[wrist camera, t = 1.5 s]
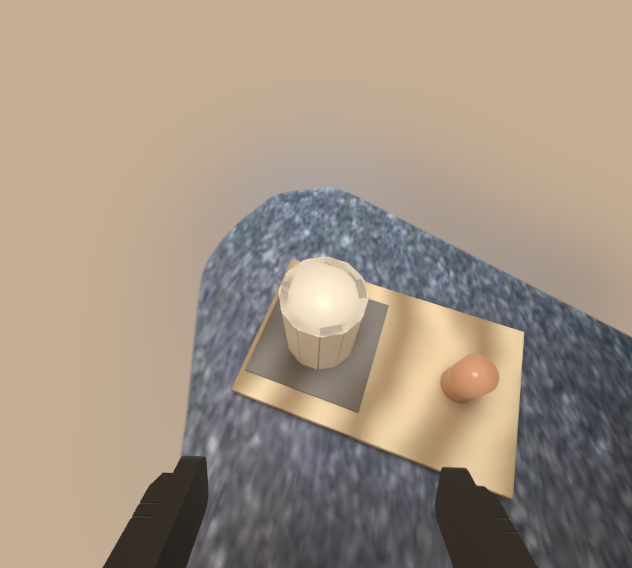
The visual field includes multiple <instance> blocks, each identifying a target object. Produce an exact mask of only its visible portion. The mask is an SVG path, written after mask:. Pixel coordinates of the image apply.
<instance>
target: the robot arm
mask: <svg viewBox="0 0 632 568" xmlns="http://www.w3.org/2000/svg"><path fill="white" fill-rule="evenodd" d="M207 502H208V477H207V461H206V457H202V456H182V457H181V458H180V460H179V462H178V464H177V466H176V468H175V470H174V472H173V473H162V474H161V475H160V476H159V477H158V478H157V479H156V480H155V481H154V482H153V483H152V484H151V485H150V486H149V487H148V489H147V491H146V492H145V494H144V496H143V498H142V499H141V501H140V505H138V506H137V508H136V510H135V512H134V514H133V517H132V518H131V519H130V521H129V522H128V524H127V526H126V528H125V529H124V531H123V533H122V535H121V536H120V538H119V540H118V542H117V543H116V546H115V547H114V549H113V551H112V552H111V554H110V556H109V558H108V559H107V561H106V563H105V565H104V566H103V568H186V566H187V563H188V560H189V557H190V554H191V551H192V549H193V546H194V543H195V540H196V537H197V534H198V531H199V529H200V526H201V523H202V520H203V517H204V514H205V511H206V507H207ZM435 511H436V518H437V522H438V525H439V528H440V531H441V533H442V536H443V539H444V542H445V545H446V548H447V550H448V553H449V556H450V559H451V562H452V565H453V567H454V568H537V566H536V564H535V562H534V561H533V559H532V557H531V555H530V554H529V552H528V550H527V548H526V547H525V545H524V543H523V541H522V540H521V538H520V536H519V535H517V531H516V529H515V527H514V526H513V524H512V522H511V521H510V520H509V517H508V515H507V513H506V512H505V510H504V508H503V506H502V505H501V503H500V501H499V500H498V499H497V498H496V497H495V496H494V495H493V494H492V493H491V492H490V491H489V490H488V489H487V488H486V487H485V486H476V484H475V482H474V480H473V478H472V476H471V474H470V472H469V471H468V470H467V469H466V468H460V467H442V469H441V472H440V478H439V483H438V489H437V495H436V500H435Z"/></svg>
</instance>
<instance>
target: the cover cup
mask: <svg viewBox="0 0 632 568" xmlns="http://www.w3.org/2000/svg"><path fill="white" fill-rule="evenodd" d="M279 299H280V306H281V312H282V317H283V322H284V328H285V333H286V338H287V343H288V348H289V351H290V352H291V353H292V354H293V356H294V357H295V358H296V359H297V360H298V362H299V363H301V364H302V365H305V366H308V367H311V368H313V369H316V370H317V369H318V370H321V369H327V368H333V367H335V366H338V365H339V364H340V363H341V362H342V361H343V360H345V359H346V358H347V357H348V356H349V355H350V353H351V350H352V347H353V344H354V341H355V338H356V335H357V332H358V330H359V327H360V324H361V321H362V318H363V315H364V312H365V309H366V305H367V302H368V293H367V290H366V286H365V283H364V279H362V276H361V275H360V274H359V273H358V272H357V271H355V270H354V269H353V268H352V267H351V266H350V265H349V264H347V263H346V262H343V261H340V260H336V259H333V258H330V257H327V258H326V257H319V258H313V259H306V261H302V262H301V263H299V264H298V265H296V266H295V267H293V268H292V269H291V270H289V271H288V273H286V276H285V278H284V280H283V282H282V284H281V286H280V288H279Z"/></svg>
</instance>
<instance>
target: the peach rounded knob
mask: <svg viewBox="0 0 632 568" xmlns="http://www.w3.org/2000/svg"><path fill="white" fill-rule="evenodd" d="M498 383H499V372H498V370H497V368H496V366H495V365H494V363H493V362H492V361H491V360H490V359H488V358H487V357H485V356H483V355H480V354H469V355H467V356H465V357H464V358H462V359H461V360H460V361H458V362H457V363H455V364H454V365H453V366H451V367H450V368H448V369H447V370H446V371H444V373H443V374H442V376H441V379H440V384H441V388H442V391H443V392H444V394H445V395H446V396H447V397H448V398H449V399H450V400H452V401H454V402H457V403H465V402H468V401H470V400H473V399H475V398H478V397H480V396H483V395H485V394H487V393H490V392H492V391H493V390H495V389H496V387H497V386H498Z"/></svg>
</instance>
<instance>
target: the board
mask: <svg viewBox="0 0 632 568" xmlns="http://www.w3.org/2000/svg"><path fill="white" fill-rule="evenodd" d="M299 263H301V262H299V261H296V260H293V259H292V261H291V263H290V265H289V267H288V269H287V271H286V273H288V271H289V270H291V269H292V268H293V267H295V266H296V265H298V264H299ZM285 276H286V274H285ZM285 276H284V278H285ZM284 278H283V280H284ZM283 280H282V282H283ZM282 282H281V284H282ZM364 283H365V286H366V290H367V293H368V302H367V305H366V309H365V312H364V315H363V318H362V321H361V324H360V327H359V330H358V332H357V335H356V338H355V341H354V344H353V347H352V350H351V353H350V355H349V356H348V357H347V358H346V359H345V360H343V361H342V362H341V363H340V364H339V365H338V366H335V367H333V368H327V369H321V370H318V369H317V370H316V369H313V368H311V367H308V366H305V365H302V364H301V363H299V362H298V360H297V359H296V358H295V357H294V356H293V354H292V353H291V352H290V351H289V348H288V343H287V338H286V333H285V328H284V322H283V317H282V312H281V306H280V299H279V289H278V291H277V293H276V295H275V297H274V299H273V301H272V303H271V306H270V308H269V310H268V312H267V314H266V316H265V318H264V320H263V323H262V325H261V327H260V329H259V331H258V333H257V335H256V338H255V340H254V342H253V344H252V346H251V348H250V350H249V352H248V355H247V357H246V359H245V361H244V363H243V365H242V367H241V369H240V372H239V374H238V376H237V378H236V380H235V382H234V384H233V387H232V390H233V391H234V392H235V393H237V394H240V395H243V396H245V397H248V398H250V399H253V400H255V401H258V402H261V403H263V404H266V405H268V406H271V407H273V408H276V409H278V410H281V411H284V412H286V413H289V414H291V415H294V416H296V417H299V418H302V419H304V420H307V421H309V422H312V423H314V424H317V425H319V426H322V427H325V428H327V429H330V430H332V431H335V432H337V433H340V434H342V435H345V436H348V437H350V438H353V439H355V440H358V441H360V442H363V443H366V444H368V445H371V446H373V447H376V448H378V449H381V450H383V451H386V452H389V453H391V454H394V455H396V456H399V457H401V458H404V459H407V460H409V461H412V462H414V463H417V464H419V465H422V466H424V467H427V468H430V469H432V470H435V471H437V472H441V469H442V467H460V468H466V469H467V470H468V471H469V472H470V474H471V476H472V478H473V480H474V482H475V484H476V486H485V487H486V488H487V489H488V490H489V491H490V492H491V493H494V494H496V495H499V496H501V497H504V498H511V499H513V489H514V474H515V459H516V444H517V430H518V415H519V400H520V385H521V370H522V355H523V340H524V332H522V331H519V330H515V329H512V328H509V327H506V326H503V325H500V324H496V323H493V322H490V321H487V320H484V319H480V318H477V317H474V316H471V315H468V314H465V313H461V312H458V311H455V310H452V309H449V308H445V307H442V306H439V305H436V304H433V303H430V302H426V301H423V300H420V299H417V298H414V297H411V296H407V295H404V294H401V293H398V292H395V291H391V290H388V289H385V288H382V287H379V286H376V285H372V284H369V283H366V282H364ZM281 284H280V286H281ZM280 286H279V288H280ZM469 354H480V355H483V356H485V357H487V358H488V359H490V360H491V361H492V362H493V363H494V365H495V366H496V368H497V370H498V372H499V383H498V386H497V387H496V389H495V390H493V391H492V392H490V393H487V394H485V395H483V396H480V397H478V398H475V399H473V400H470V401H468V402H465V403H457V402H454V401H452V400H450V399H449V398H448V397H447V396H446V395H445V394H444V392H443V391H442V388H441V384H440V379H441V376H442V374H443V373H444V371H446V370H447V369H448V368H450V367H451V366H453V365H454V364H455V363H457V362H458V361H460V360H461V359H462V358H464V357H465V356H467V355H469Z"/></svg>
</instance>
